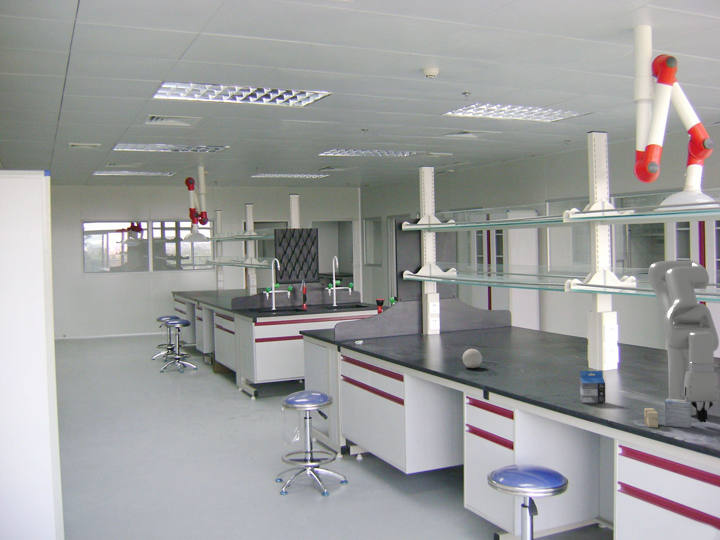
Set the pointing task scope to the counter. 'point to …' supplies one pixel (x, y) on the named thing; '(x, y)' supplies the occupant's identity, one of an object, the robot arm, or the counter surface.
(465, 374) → the counter surface
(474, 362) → the grey felt ball
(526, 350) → the counter surface
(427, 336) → the counter surface
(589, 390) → the blue and grey box
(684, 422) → the medicine box
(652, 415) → the bench stop
